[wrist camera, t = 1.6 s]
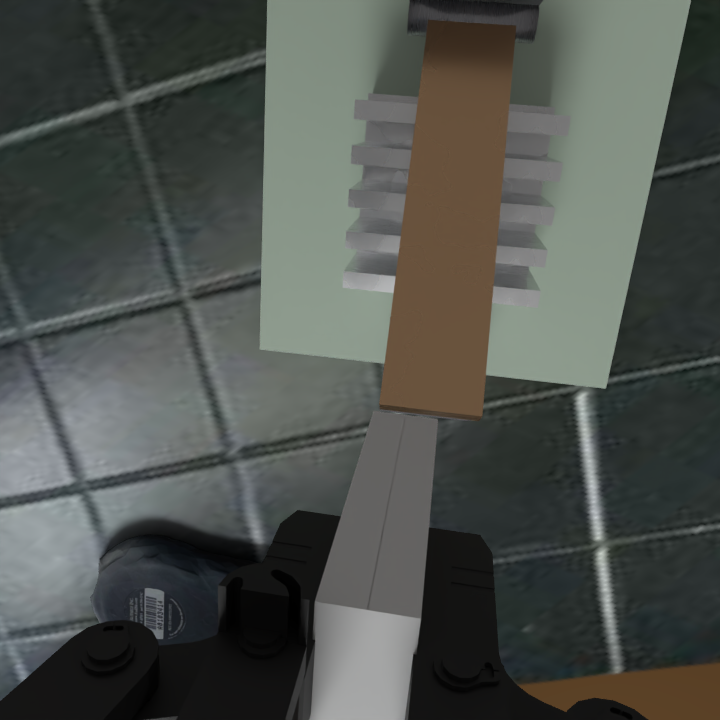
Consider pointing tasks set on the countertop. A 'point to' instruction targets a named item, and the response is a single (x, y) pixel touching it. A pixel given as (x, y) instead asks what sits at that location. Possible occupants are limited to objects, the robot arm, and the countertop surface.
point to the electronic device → (162, 587)
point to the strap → (452, 206)
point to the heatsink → (389, 185)
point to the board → (569, 196)
